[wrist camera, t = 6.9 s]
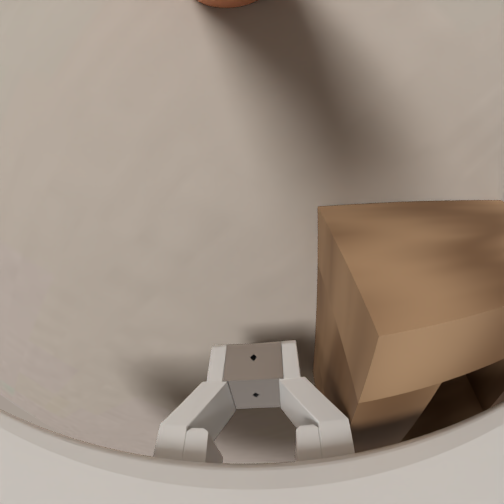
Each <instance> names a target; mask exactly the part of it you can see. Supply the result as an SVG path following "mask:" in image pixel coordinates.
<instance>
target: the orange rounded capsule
mask: <svg viewBox="0 0 504 504" xmlns="http://www.w3.org/2000/svg"><path fill="white" fill-rule="evenodd" d="M197 1H199V2H201V3H203V4H205V5H208V6H213V7H219V8H234V7H240V6H244V5H248V4H251V3H253V2H255V1H257V0H197Z"/></svg>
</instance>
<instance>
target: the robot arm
mask: <svg viewBox="0 0 504 504" xmlns="http://www.w3.org/2000/svg"><path fill="white" fill-rule="evenodd" d="M269 407H281V409H282V410H283V412H284V413H285V414H286V415H287V417H288V418H289V419H290V421H291V422H292V423H293V424H294V426H295V427H296V428H297V429H296V440H295V461H294V462H280V463H257V464H230V463H223V456H222V455H221V453H220V451H219V450H218V448H217V446H216V445H215V443H214V440H215V439H216V437H217V436H218V435H219V433H220V432H221V431H222V429H223V428H224V426H225V425H226V424H227V422H228V421H229V420H230V418H231V417H232V415H233V414H234V413H235V411H236V409H246V408H269ZM0 504H504V401H503V402H501V403H499V404H497V405H495V406H493V407H491V408H489V409H487V410H485V411H483V412H481V413H479V414H477V415H474V416H472V417H470V418H468V419H465V420H463V421H461V422H458V423H456V424H453V425H451V426H448V427H445V428H443V429H440V430H437V431H434V432H432V433H429V434H426V435H423V436H420V437H416V438H413V439H410V440H407V441H403V442H400V443H396V444H392V445H388V446H384V447H380V448H376V449H372V450H367V451H363V452H358V453H355V451H354V445H353V440H352V434H351V429H350V424H349V419H348V418H347V417H346V416H345V415H344V414H343V413H342V412H341V411H340V410H339V409H338V408H337V407H336V406H335V405H334V404H332V403H331V402H330V401H329V400H328V399H327V398H326V397H325V396H324V395H323V394H322V393H321V392H320V391H319V390H318V389H317V388H316V387H315V386H314V385H313V384H312V383H311V382H310V381H309V380H308V379H307V378H306V377H301V374H300V366H299V358H298V350H297V343H296V341H295V340H290V341H277V342H265V343H253V344H227V345H213V347H212V349H211V355H210V362H209V368H208V375H207V381H204V382H202V383H201V384H200V385H199V386H198V387H197V388H196V389H195V390H194V391H193V392H192V393H191V394H190V395H189V396H188V397H187V398H186V399H185V400H184V401H183V402H182V403H181V404H180V405H179V406H178V407H177V408H176V409H175V410H174V411H173V412H172V413H171V414H170V415H169V416H168V417H167V418H166V419H165V420H164V421H163V422H162V423H161V424H160V427H159V432H158V436H157V441H156V445H155V450H154V455H153V457H152V456H146V455H140V454H134V453H129V452H124V451H120V450H115V449H111V448H107V447H103V446H99V445H95V444H91V443H88V442H84V441H81V440H77V439H74V438H71V437H68V436H65V435H62V434H59V433H56V432H53V431H50V430H48V429H45V428H42V427H40V426H37V425H35V424H32V423H30V422H27V421H25V420H23V419H20V418H18V417H16V416H14V415H12V414H9V413H7V412H5V411H3V410H1V409H0Z"/></svg>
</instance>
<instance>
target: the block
mask: <svg viewBox="0 0 504 504" xmlns="http://www.w3.org/2000/svg"><path fill="white" fill-rule="evenodd" d="M313 375H314V381H315V387H316V388H317V389H318V390H319V391H320V392H321V393H322V394H323V395H324V396H325V397H326V398H327V399H328V400H329V401H330V402H331V403H332V404H334V405H335V406H336V407H337V408H338V409H339V410H340V411H341V412H342V413H343V414H344V415H345V416H346V417H347V418H348V419H349V424H350V429H351V434H352V440H353V445H354V451H355V453H358V452H363V451H367V450H372V449H376V448H380V447H384V446H388V445H392V444H396V443H400V442H403V441H407V440H410V439H413V438H416V437H420V436H423V435H426V434H429V433H432V432H434V431H437V430H440V429H443V428H445V427H448V426H451V425H453V424H456V423H458V422H461V421H463V420H465V419H468V418H470V417H472V416H474V415H477V414H479V413H481V412H483V411H485V410H487V409H489V408H491V407H493V406H495V405H497V404H499V403H501V402H503V401H504V202H503V201H501V200H457V201H415V202H389V203H368V204H350V205H334V206H319V207H318V279H317V311H316V332H315V349H314V364H313Z"/></svg>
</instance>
